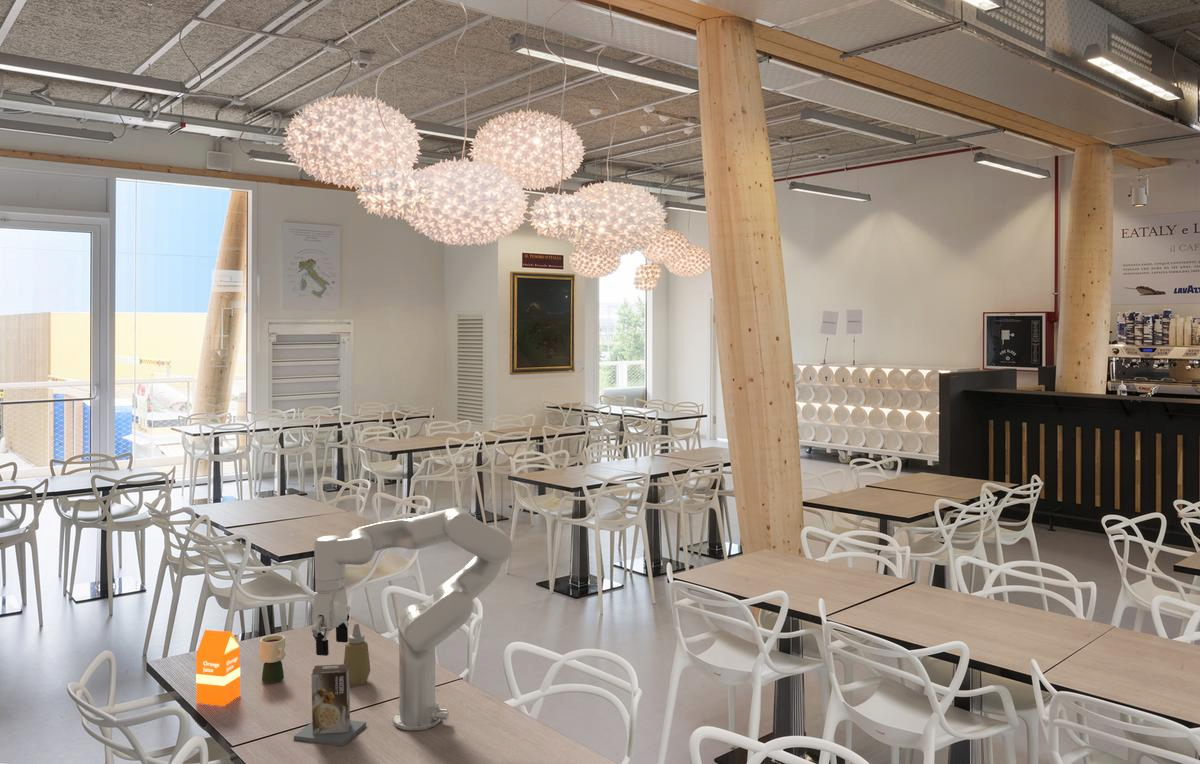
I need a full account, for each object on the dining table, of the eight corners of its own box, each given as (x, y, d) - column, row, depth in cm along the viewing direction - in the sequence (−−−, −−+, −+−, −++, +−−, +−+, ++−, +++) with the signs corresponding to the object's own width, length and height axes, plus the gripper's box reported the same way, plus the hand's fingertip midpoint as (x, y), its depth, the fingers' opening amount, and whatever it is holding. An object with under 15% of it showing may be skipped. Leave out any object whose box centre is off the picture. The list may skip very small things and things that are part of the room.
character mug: (293, 681, 262) (293, 639, 262) (272, 689, 257) (271, 645, 256) (273, 673, 269) (273, 631, 269) (252, 680, 264) (251, 637, 263)
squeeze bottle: (353, 690, 257) (353, 630, 256) (337, 683, 261) (336, 624, 261) (376, 682, 263) (376, 623, 262) (359, 675, 268) (359, 617, 267)
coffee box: (351, 722, 233) (350, 663, 232) (347, 733, 226) (347, 672, 226) (315, 724, 231) (315, 664, 231) (311, 735, 225) (310, 674, 224)
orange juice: (224, 706, 244) (223, 636, 243) (196, 703, 246) (195, 634, 245) (240, 695, 252) (240, 627, 251) (213, 693, 254) (213, 625, 253)
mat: (366, 725, 233) (366, 722, 233) (343, 745, 221) (343, 742, 221) (319, 720, 236) (318, 716, 236) (293, 739, 225) (293, 735, 225)
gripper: (334, 574, 236) (336, 636, 237) (299, 592, 220) (301, 659, 220) (360, 575, 235) (361, 638, 236) (325, 594, 218) (327, 661, 219)
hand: (332, 648), depth 228 cm, fingers open, 9 cm apart
